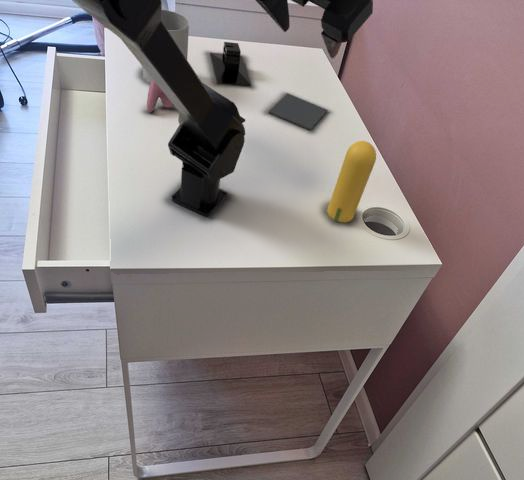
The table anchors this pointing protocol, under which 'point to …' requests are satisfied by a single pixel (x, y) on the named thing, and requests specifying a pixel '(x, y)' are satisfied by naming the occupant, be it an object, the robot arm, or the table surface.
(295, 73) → the table surface
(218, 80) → the dark flat-based piece
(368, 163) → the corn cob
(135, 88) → the table surface
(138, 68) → the table surface
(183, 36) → the cup
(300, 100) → the coaster
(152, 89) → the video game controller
